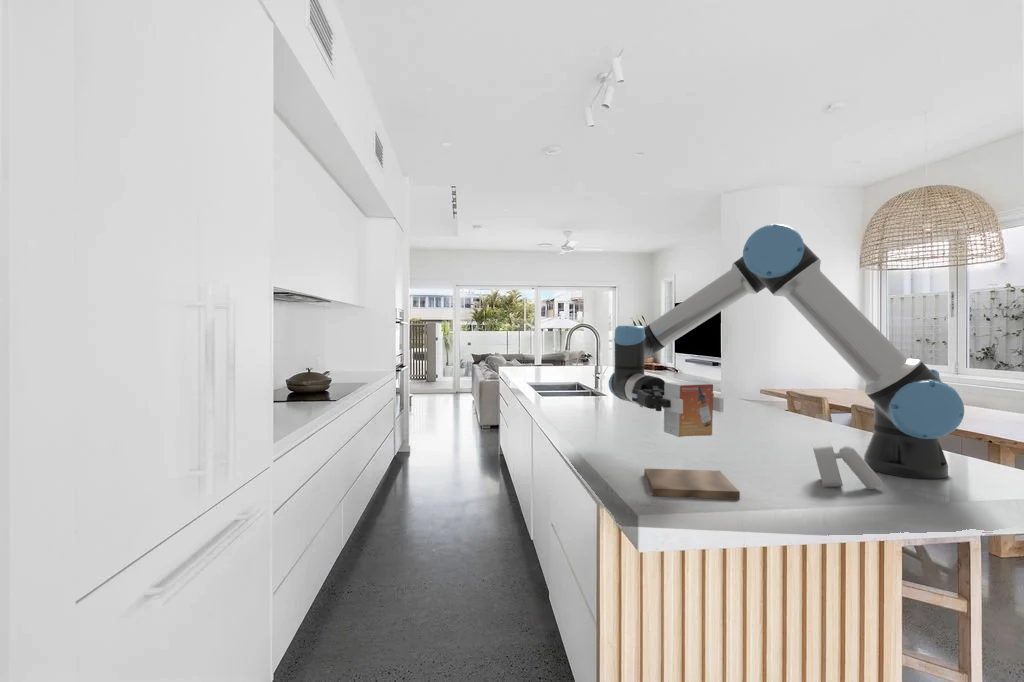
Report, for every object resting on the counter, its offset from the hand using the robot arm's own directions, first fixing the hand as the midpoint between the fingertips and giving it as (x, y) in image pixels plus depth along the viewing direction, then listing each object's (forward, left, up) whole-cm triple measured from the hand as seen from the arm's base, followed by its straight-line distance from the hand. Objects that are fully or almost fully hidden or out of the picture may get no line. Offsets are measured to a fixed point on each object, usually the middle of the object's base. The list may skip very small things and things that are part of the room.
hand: (701, 405), depth 100 cm
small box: (+2, -4, -7) cm, 8 cm away
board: (+2, -4, -17) cm, 18 cm away
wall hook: (-30, -8, -18) cm, 36 cm away
